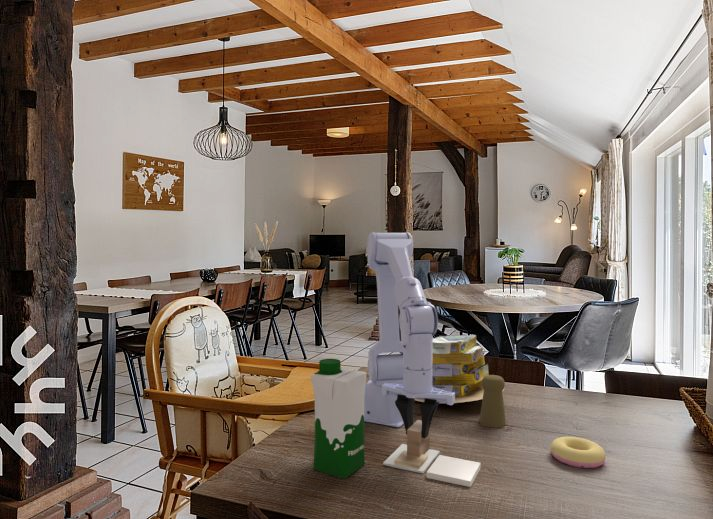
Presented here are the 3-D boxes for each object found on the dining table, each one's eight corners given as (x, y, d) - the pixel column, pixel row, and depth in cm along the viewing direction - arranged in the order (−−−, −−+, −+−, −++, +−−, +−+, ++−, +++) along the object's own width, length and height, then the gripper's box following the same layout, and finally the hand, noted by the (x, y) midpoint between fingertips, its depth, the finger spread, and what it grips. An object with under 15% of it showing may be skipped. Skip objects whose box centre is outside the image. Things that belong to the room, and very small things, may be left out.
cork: (507, 428, 119) (507, 380, 118) (479, 426, 120) (480, 378, 119) (505, 419, 125) (505, 373, 124) (478, 417, 126) (479, 371, 125)
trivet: (383, 464, 100) (383, 462, 100) (402, 445, 109) (402, 443, 109) (423, 473, 97) (423, 471, 97) (439, 452, 106) (439, 450, 106)
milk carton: (332, 453, 106) (332, 354, 105) (371, 464, 101) (372, 360, 100) (306, 470, 98) (305, 364, 97) (346, 482, 93) (346, 371, 92)
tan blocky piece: (411, 445, 109) (412, 418, 108) (435, 449, 107) (435, 422, 106) (394, 463, 100) (394, 435, 100) (419, 468, 98) (419, 439, 98)
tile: (439, 461, 103) (426, 479, 95) (439, 454, 103) (426, 471, 95) (480, 469, 99) (470, 488, 92) (480, 462, 99) (470, 481, 92)
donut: (567, 456, 110) (541, 462, 104) (566, 433, 110) (540, 437, 105) (615, 466, 102) (590, 472, 96) (613, 441, 103) (588, 446, 97)
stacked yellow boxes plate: (390, 397, 141) (390, 335, 140) (444, 379, 158) (445, 323, 157) (470, 421, 123) (471, 351, 122) (521, 397, 141) (522, 335, 140)
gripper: (375, 367, 103) (375, 435, 104) (447, 376, 96) (447, 449, 97) (389, 359, 109) (389, 423, 110) (458, 367, 103) (457, 435, 104)
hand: (417, 434), depth 104 cm, fingers closed on tan blocky piece, 3 cm apart
